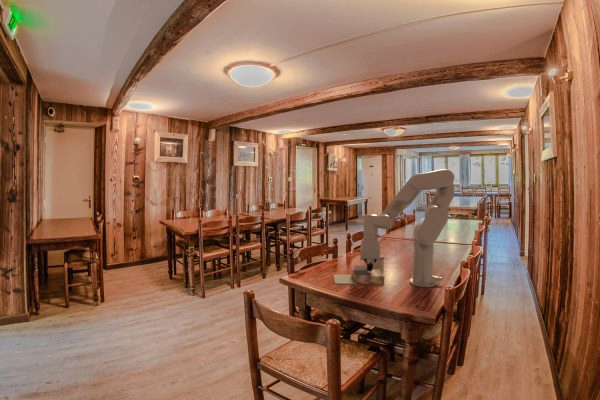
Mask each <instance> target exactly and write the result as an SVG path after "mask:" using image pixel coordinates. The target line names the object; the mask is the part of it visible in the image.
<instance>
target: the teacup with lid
mask: <svg viewBox="0 0 600 400" xmlns="http://www.w3.org/2000/svg"><path fill="white" fill-rule="evenodd" d="M384 260H385V257H384V255H383V254H380V260H379V261H376V262H375V263H374V264H373V269H379V270H380V271H381V272H382V273H384V272H385V271H384V266H385V265H384V264H385V263H384ZM363 262H364V264H365V266H367V263H366V262H365V261H363ZM370 262H371V259H369V263H370Z"/></svg>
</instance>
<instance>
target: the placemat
mask: <svg viewBox="0 0 600 400" xmlns="http://www.w3.org/2000/svg"><path fill="white" fill-rule="evenodd" d="M332 275H333V280H334V281H333V282H334V284H335V285H355V282H354V279H353V277H352V274H336V273H335V274H334V273H333V274H332Z"/></svg>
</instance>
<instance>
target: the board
mask: <svg viewBox="0 0 600 400" xmlns="http://www.w3.org/2000/svg"><path fill="white" fill-rule="evenodd" d="M351 270H352V271H351V276H352V278H353V281H354V283H355V284H357V285H360V284H361V285H362V284H363V285H365V284H366V285H385V275H384V274H383V272H381V271H380V270H379V269H373V270H372V272H371V271H370V272H369V271H368V275H356V273H355V270H354V268H351ZM355 284H354V285H355Z"/></svg>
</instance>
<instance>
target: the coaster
mask: <svg viewBox="0 0 600 400" xmlns="http://www.w3.org/2000/svg"><path fill="white" fill-rule="evenodd" d="M353 266H354V268H353V269H354V270H355V273H356V275H368V270H367V265H353Z"/></svg>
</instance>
